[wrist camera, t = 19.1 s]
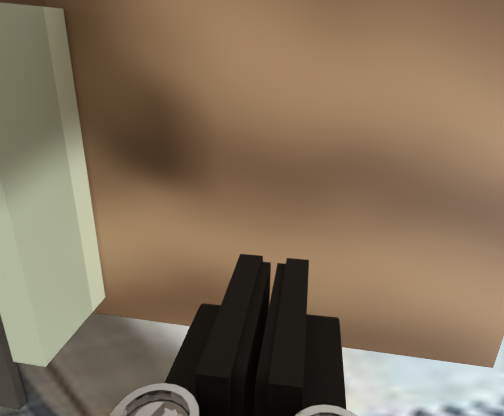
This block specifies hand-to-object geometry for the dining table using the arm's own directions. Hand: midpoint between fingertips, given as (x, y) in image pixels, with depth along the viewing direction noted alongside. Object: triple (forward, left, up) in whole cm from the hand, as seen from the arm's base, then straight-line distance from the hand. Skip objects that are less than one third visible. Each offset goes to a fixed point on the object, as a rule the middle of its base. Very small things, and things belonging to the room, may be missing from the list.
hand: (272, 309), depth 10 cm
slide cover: (+1, +12, -5) cm, 13 cm away
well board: (+1, +5, -7) cm, 9 cm away
